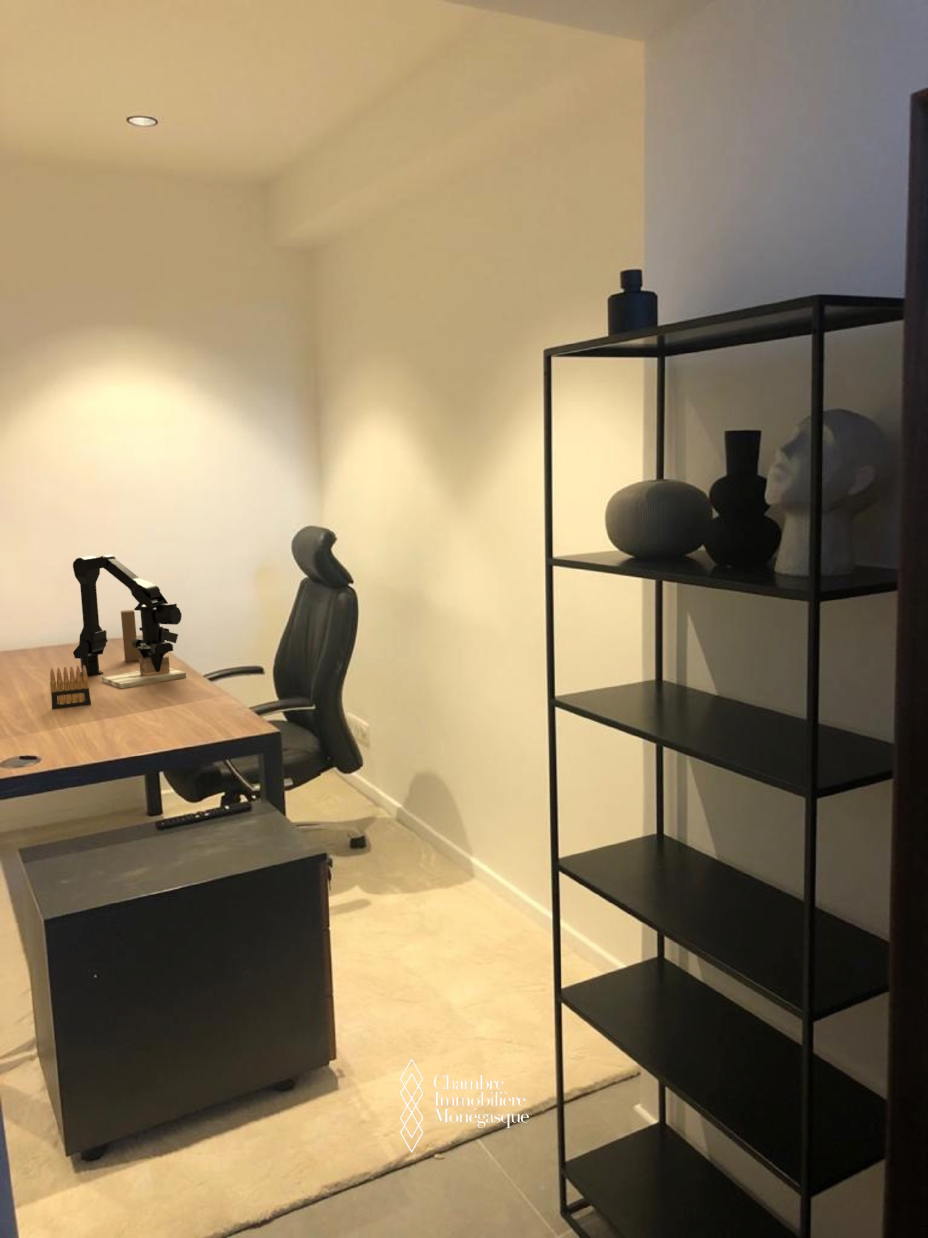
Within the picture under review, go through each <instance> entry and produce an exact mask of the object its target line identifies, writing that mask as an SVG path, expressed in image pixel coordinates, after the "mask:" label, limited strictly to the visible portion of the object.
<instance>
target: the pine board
mask: <svg viewBox="0 0 928 1238" xmlns="http://www.w3.org/2000/svg"><path fill="white" fill-rule="evenodd" d="M183 678H187V672H185V671H182V670H179V669H175V668H171V667H170V672H165V673H159V674H153V675H143V674H140V670H137V671H130V672H125V673H119V674H113V675H108V676H101V680H102V682H103V683H106V684H108V685H110V686H112V687H116V688H118V689H127V688H133V687H138V686H144V685H150V684H154V683H160V682H165V681H173V680H177V679H183Z"/></svg>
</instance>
